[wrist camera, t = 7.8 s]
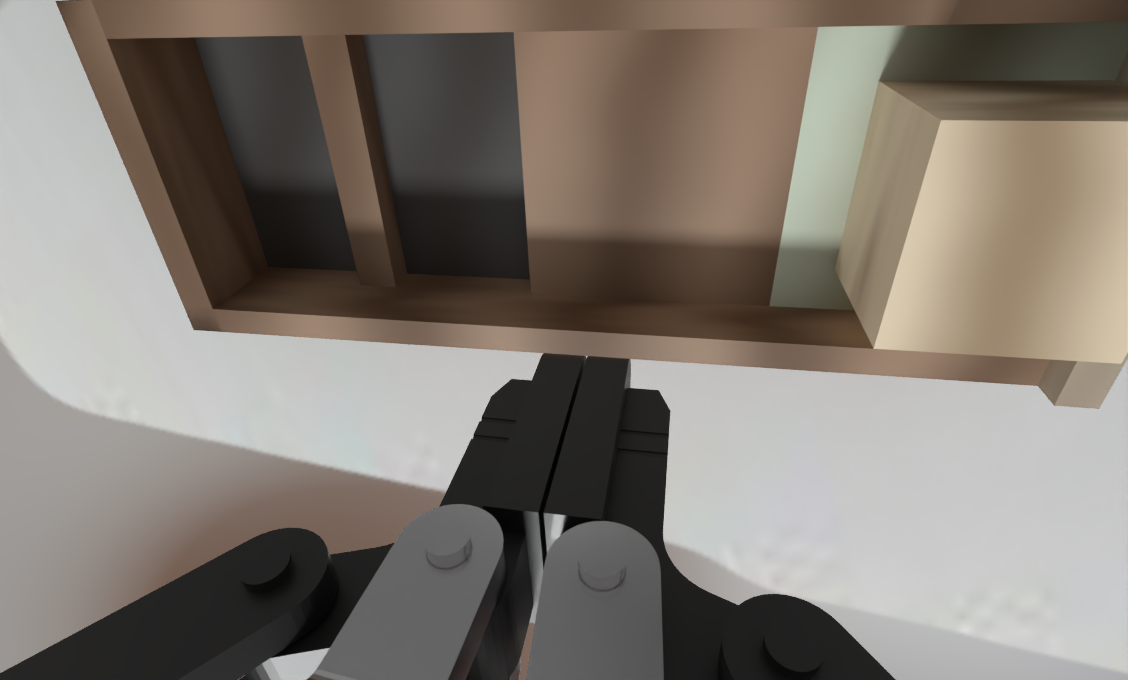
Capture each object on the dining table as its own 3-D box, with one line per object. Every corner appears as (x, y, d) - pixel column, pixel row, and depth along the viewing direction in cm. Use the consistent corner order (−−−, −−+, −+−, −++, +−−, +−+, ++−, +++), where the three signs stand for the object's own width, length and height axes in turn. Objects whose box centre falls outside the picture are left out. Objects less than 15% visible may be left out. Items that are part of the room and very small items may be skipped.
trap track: (1177, -36, 16) (1350, -34, 12) (1020, 323, 22) (1099, 408, 18) (155, -7, 21) (24, 3, 17) (254, 283, 27) (176, 343, 23)
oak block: (1111, 80, 16) (1258, 122, 12) (1028, 277, 20) (1120, 363, 15) (878, 80, 17) (940, 120, 13) (834, 269, 21) (873, 348, 16)
